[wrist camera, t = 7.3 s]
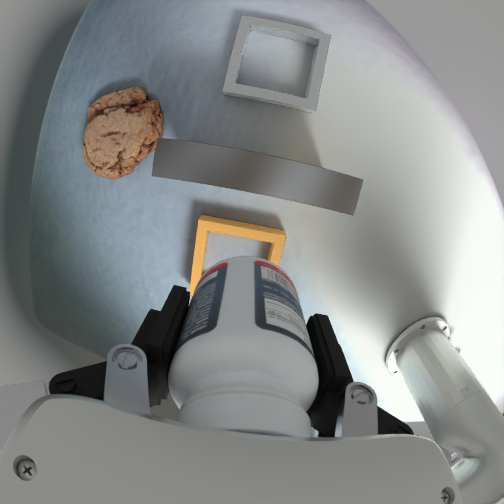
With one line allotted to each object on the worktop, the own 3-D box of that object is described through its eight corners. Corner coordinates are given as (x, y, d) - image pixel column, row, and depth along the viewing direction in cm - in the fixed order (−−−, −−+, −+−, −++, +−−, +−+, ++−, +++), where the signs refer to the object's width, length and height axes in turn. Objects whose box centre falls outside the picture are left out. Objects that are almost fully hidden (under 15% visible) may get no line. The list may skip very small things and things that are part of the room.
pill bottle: (204, 340, 15) (175, 481, 7) (187, 256, 13) (115, 404, 5) (296, 335, 15) (322, 480, 7) (297, 250, 13) (352, 403, 5)
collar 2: (283, 230, 30) (286, 236, 28) (265, 299, 33) (266, 308, 31) (201, 214, 29) (198, 219, 27) (192, 286, 33) (189, 295, 31)
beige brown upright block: (323, 165, 27) (363, 179, 17) (317, 189, 28) (353, 215, 18) (190, 139, 26) (157, 138, 16) (186, 163, 27) (151, 176, 17)
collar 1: (325, 41, 22) (330, 35, 20) (311, 113, 25) (315, 110, 23) (242, 22, 21) (241, 15, 19) (224, 94, 24) (222, 91, 23)
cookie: (78, 167, 27) (65, 170, 24) (103, 82, 23) (90, 77, 20) (148, 189, 28) (138, 194, 26) (179, 97, 25) (171, 92, 22)
